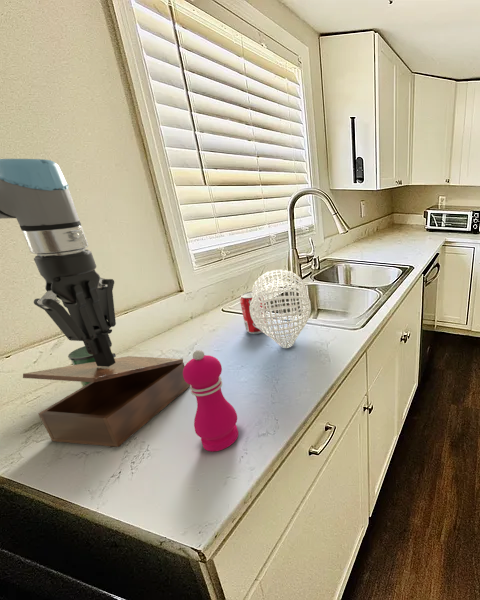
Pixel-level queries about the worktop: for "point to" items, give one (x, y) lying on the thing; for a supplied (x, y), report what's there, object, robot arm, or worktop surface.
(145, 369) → the lid
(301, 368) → the worktop surface
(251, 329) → the soda can
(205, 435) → the pepper mill
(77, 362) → the green pot
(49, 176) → the robot arm
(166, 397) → the chest
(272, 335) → the heart
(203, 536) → the worktop surface
